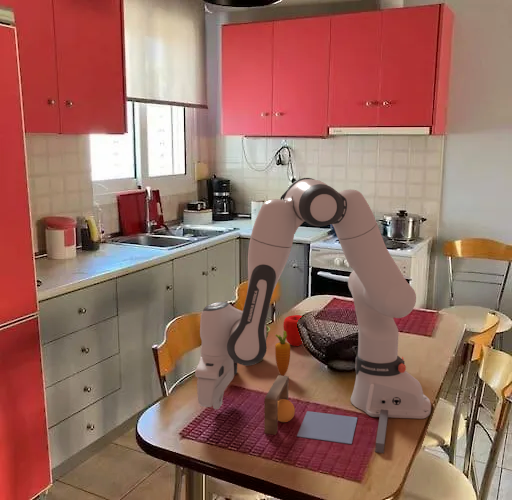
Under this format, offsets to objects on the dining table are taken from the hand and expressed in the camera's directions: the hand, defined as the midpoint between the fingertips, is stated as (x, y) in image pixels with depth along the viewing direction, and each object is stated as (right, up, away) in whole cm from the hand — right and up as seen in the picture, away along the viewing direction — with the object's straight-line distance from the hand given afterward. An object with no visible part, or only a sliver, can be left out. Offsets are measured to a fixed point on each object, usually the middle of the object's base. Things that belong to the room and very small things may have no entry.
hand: (217, 406), depth 162 cm
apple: (+25, +9, +51) cm, 58 cm away
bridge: (+16, -2, -4) cm, 17 cm away
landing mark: (+30, -3, -8) cm, 31 cm away
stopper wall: (+43, -4, -12) cm, 45 cm away
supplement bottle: (+1, +4, +26) cm, 27 cm away
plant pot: (+10, +6, +37) cm, 39 cm away
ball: (+18, 0, -5) cm, 19 cm away
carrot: (+19, +3, +24) cm, 31 cm away
